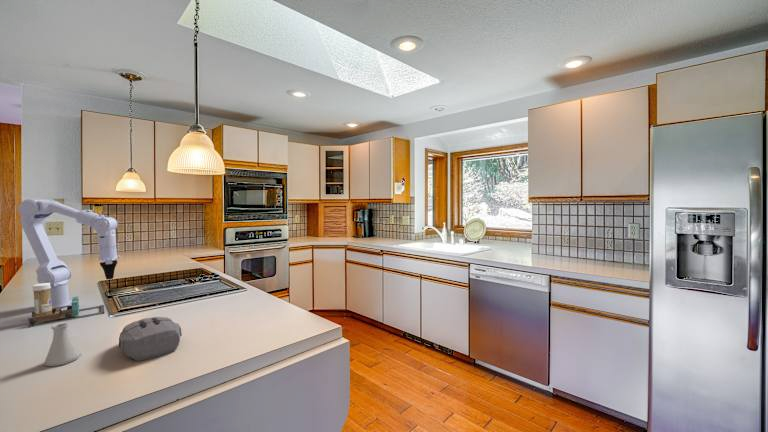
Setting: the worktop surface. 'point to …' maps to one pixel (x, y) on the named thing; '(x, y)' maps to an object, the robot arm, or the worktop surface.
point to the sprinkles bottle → (42, 299)
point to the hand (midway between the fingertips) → (109, 278)
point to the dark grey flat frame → (73, 317)
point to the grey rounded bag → (149, 338)
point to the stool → (57, 313)
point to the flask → (61, 347)
